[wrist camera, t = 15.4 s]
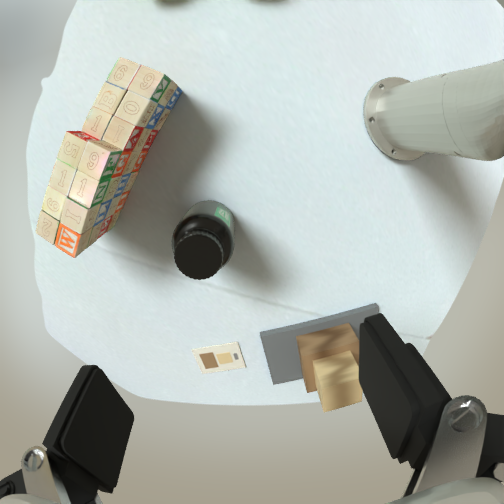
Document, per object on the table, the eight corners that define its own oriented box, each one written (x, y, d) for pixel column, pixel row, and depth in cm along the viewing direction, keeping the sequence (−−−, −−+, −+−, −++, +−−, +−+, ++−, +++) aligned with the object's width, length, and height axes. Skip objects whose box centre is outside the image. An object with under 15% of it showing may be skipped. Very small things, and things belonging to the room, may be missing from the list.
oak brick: (350, 350, 40) (363, 376, 34) (350, 375, 42) (361, 401, 36) (312, 360, 40) (321, 389, 34) (315, 385, 42) (323, 412, 36)
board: (375, 302, 44) (378, 306, 43) (373, 353, 48) (376, 357, 47) (260, 332, 45) (260, 336, 44) (272, 380, 49) (273, 384, 48)
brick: (348, 322, 44) (359, 340, 39) (349, 360, 47) (358, 378, 42) (295, 336, 44) (301, 356, 39) (301, 373, 47) (307, 392, 42)
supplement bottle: (225, 192, 37) (220, 213, 25) (241, 240, 39) (242, 278, 28) (177, 208, 37) (152, 235, 26) (194, 254, 39) (179, 296, 28)
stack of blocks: (145, 73, 30) (108, 47, 19) (184, 90, 32) (159, 66, 20) (82, 208, 36) (33, 234, 25) (114, 227, 38) (73, 260, 26)
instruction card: (237, 341, 45) (237, 342, 45) (245, 366, 47) (245, 367, 47) (191, 349, 45) (191, 350, 45) (202, 373, 48) (202, 374, 47)
